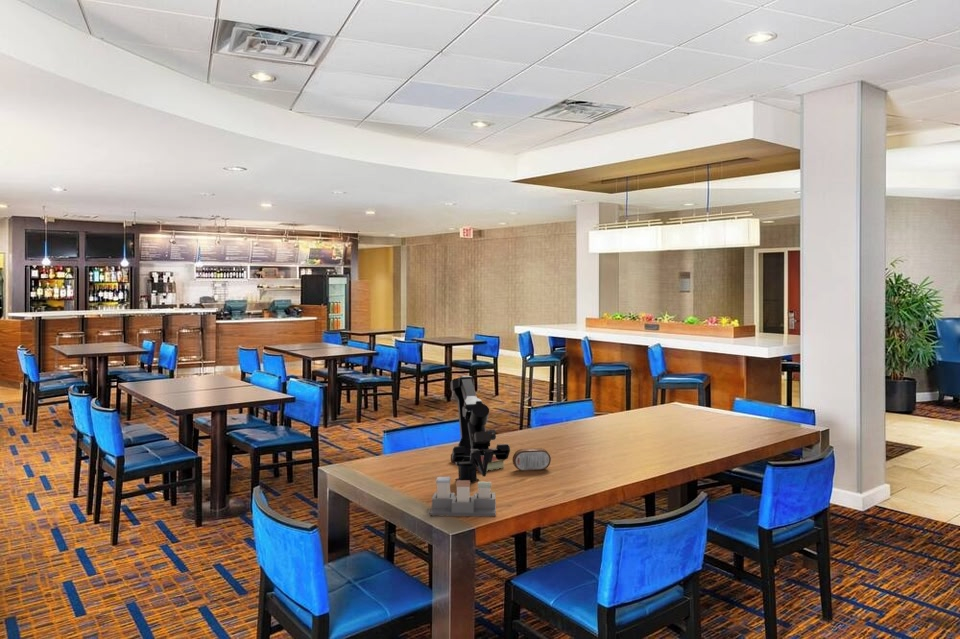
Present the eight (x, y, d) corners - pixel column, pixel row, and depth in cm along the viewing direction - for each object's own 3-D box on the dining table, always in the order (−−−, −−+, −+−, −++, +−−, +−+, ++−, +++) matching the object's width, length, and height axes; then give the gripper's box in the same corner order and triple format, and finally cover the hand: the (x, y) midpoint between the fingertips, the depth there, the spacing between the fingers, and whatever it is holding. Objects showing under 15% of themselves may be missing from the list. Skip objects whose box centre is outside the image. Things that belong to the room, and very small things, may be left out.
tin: (549, 468, 260) (549, 447, 259) (551, 470, 257) (551, 448, 256) (512, 470, 257) (512, 448, 257) (514, 472, 254) (513, 450, 254)
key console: (433, 504, 215) (433, 492, 215) (496, 504, 214) (495, 492, 214) (429, 515, 204) (429, 503, 204) (495, 516, 203) (495, 503, 203)
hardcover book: (480, 474, 253) (480, 463, 253) (450, 463, 270) (450, 453, 270) (504, 469, 260) (504, 458, 260) (474, 458, 277) (474, 448, 277)
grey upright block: (437, 498, 213) (437, 476, 213) (450, 498, 213) (450, 476, 213) (436, 502, 209) (436, 480, 209) (449, 502, 209) (449, 480, 209)
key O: (478, 503, 213) (478, 481, 213) (491, 503, 213) (491, 481, 213) (477, 507, 209) (477, 485, 209) (490, 507, 209) (490, 485, 209)
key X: (457, 502, 209) (457, 480, 209) (470, 502, 209) (470, 480, 209) (456, 506, 205) (456, 484, 205) (469, 506, 205) (469, 484, 205)
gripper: (452, 422, 213) (458, 464, 203) (508, 419, 217) (517, 461, 207) (449, 441, 221) (454, 482, 211) (503, 438, 225) (511, 479, 215)
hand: (484, 475), depth 211 cm, fingers closed
